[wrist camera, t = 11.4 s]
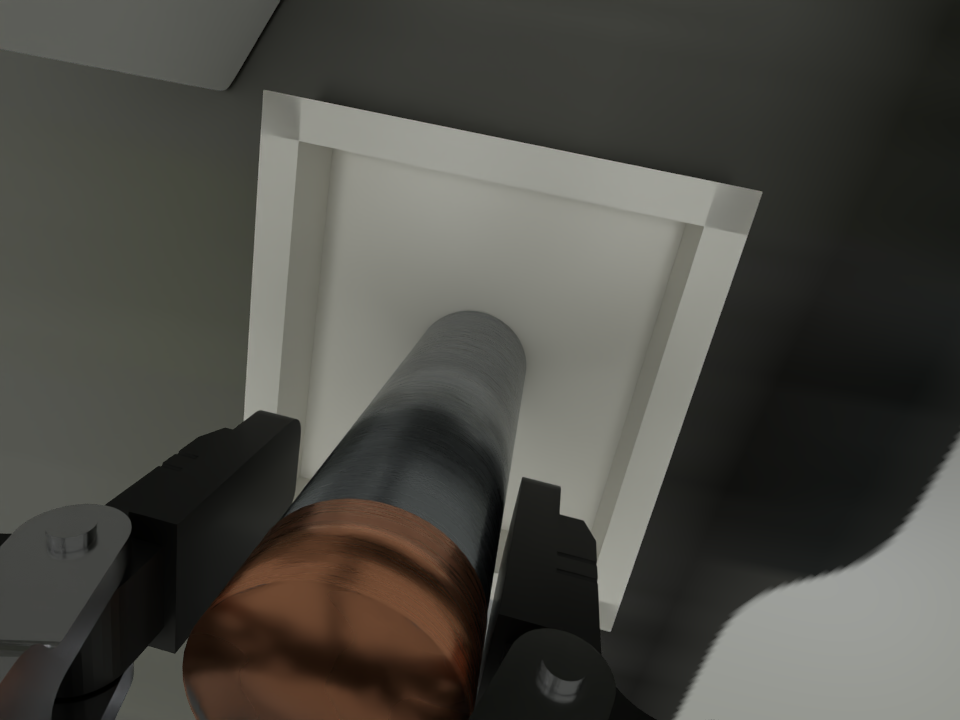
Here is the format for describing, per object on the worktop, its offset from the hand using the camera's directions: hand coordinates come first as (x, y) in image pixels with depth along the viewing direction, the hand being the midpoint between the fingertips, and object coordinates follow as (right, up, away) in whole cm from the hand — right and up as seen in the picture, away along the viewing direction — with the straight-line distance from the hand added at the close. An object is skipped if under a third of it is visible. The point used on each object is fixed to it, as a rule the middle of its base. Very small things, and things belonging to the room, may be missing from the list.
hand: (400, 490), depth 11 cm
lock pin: (+1, +2, +7) cm, 7 cm away
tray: (+1, +3, +8) cm, 8 cm away
